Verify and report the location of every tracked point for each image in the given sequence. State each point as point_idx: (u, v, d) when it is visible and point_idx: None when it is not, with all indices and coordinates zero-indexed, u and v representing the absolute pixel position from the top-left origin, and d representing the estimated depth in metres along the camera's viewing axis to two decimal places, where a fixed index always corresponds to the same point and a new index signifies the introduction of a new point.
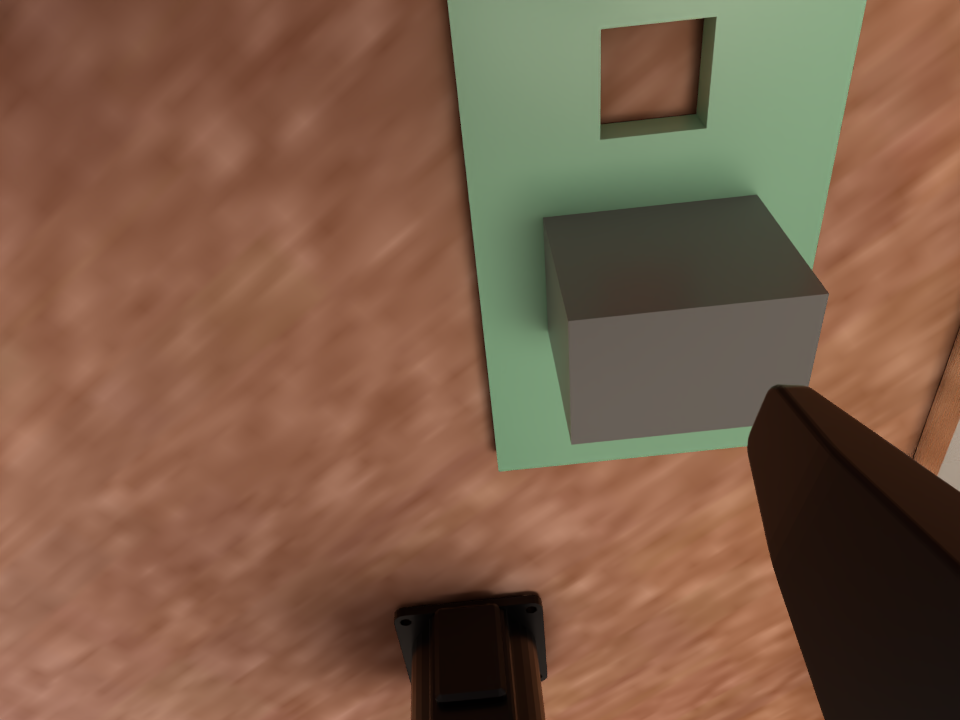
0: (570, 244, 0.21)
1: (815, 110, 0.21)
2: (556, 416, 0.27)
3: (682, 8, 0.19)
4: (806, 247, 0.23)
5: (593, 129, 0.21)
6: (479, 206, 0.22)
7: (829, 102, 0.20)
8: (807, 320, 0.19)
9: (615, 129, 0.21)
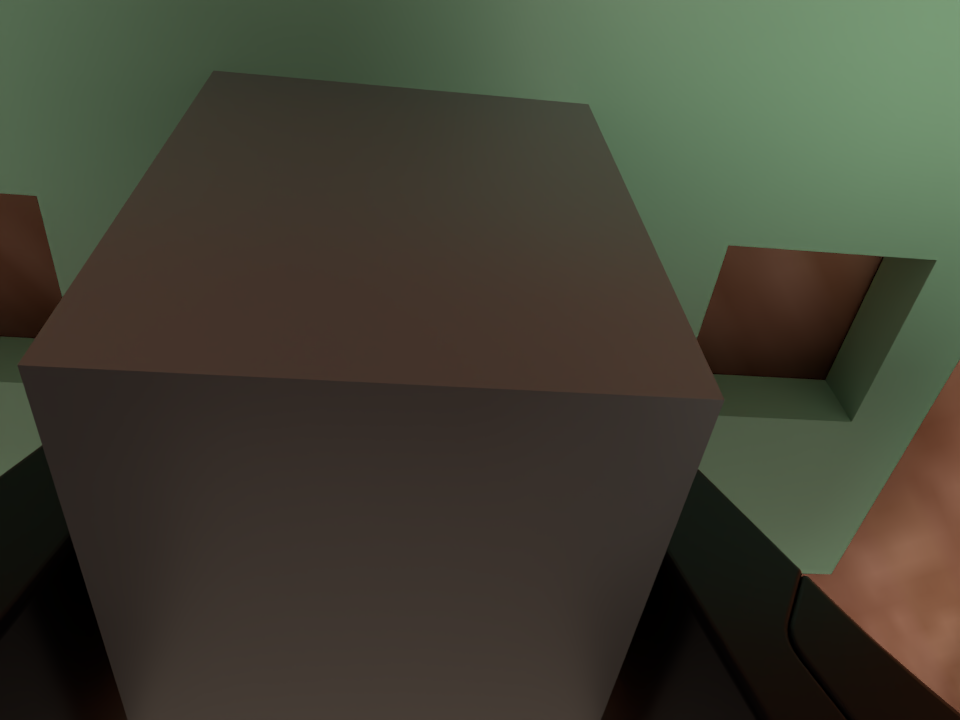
0: None
1: None
2: (740, 485, 0.13)
3: None
4: None
5: None
6: None
7: None
8: (161, 422, 0.05)
9: None
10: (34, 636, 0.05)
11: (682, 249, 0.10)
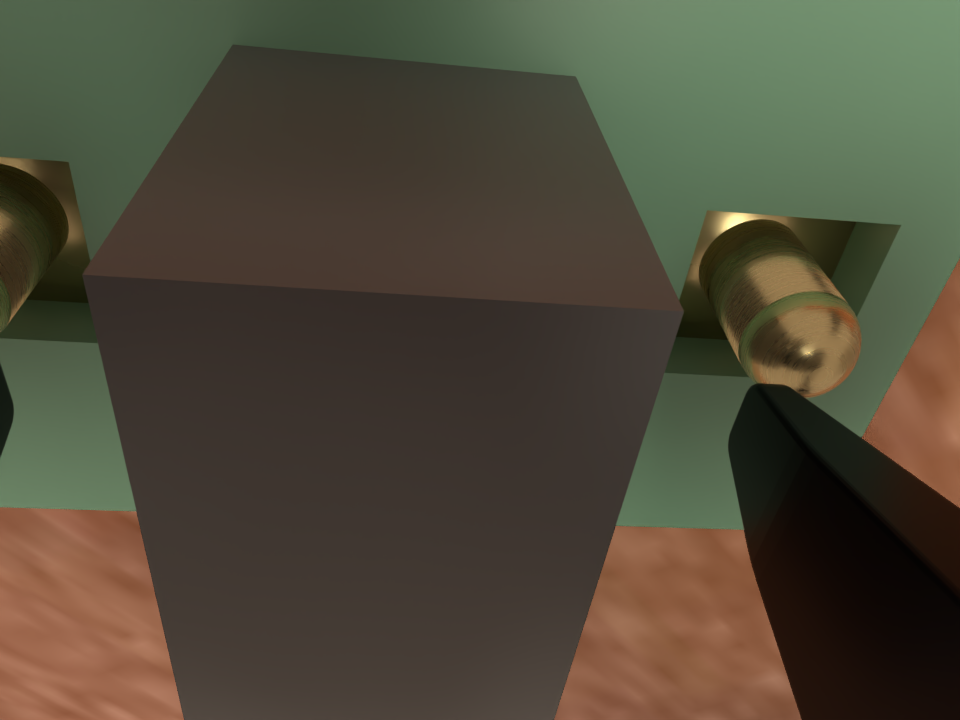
0: None
1: None
2: (722, 443, 0.13)
3: None
4: None
5: (89, 352, 0.12)
6: None
7: None
8: (201, 328, 0.05)
9: None
10: None
11: (664, 214, 0.11)
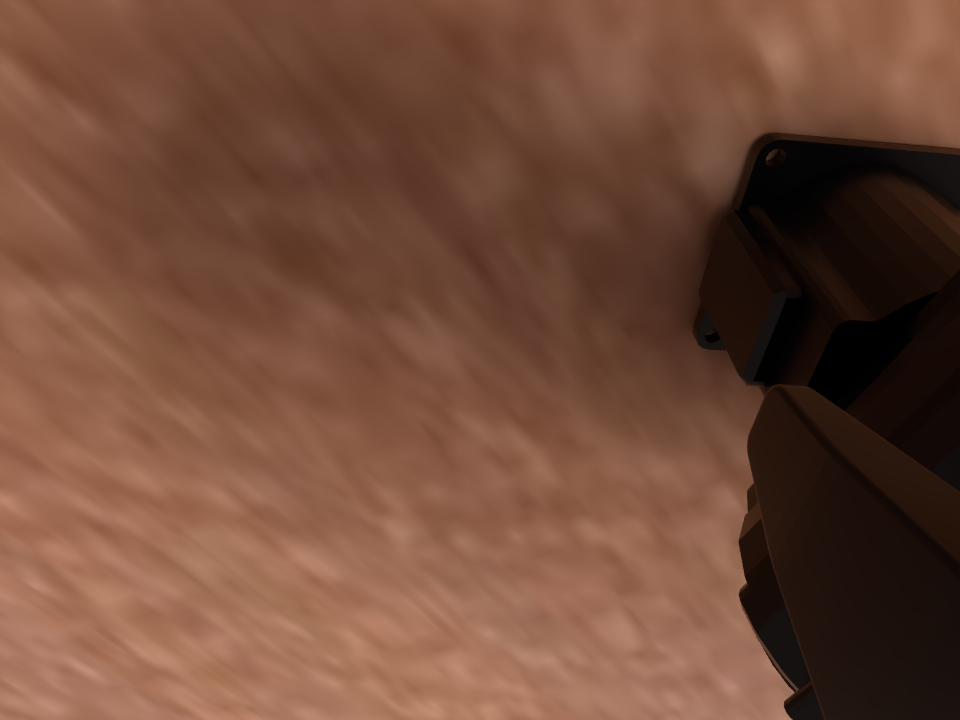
0: None
1: None
2: None
3: None
4: None
5: None
6: None
7: None
8: None
9: None
10: None
11: None
